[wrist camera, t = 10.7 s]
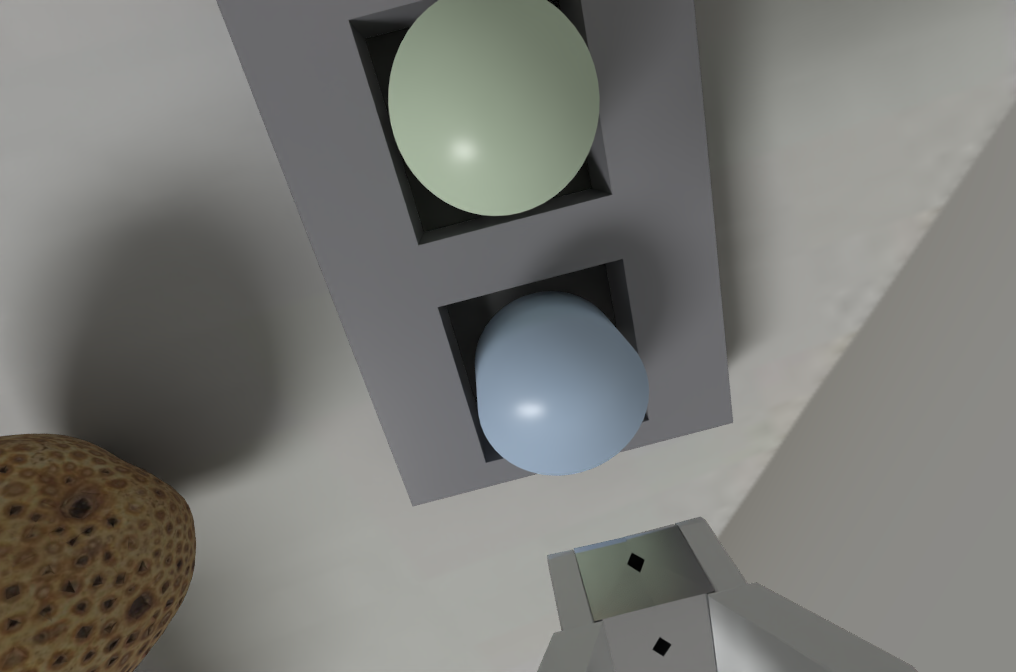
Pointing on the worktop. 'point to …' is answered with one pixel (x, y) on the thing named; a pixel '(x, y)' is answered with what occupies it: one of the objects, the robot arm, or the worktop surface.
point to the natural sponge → (86, 556)
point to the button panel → (496, 221)
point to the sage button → (493, 103)
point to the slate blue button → (558, 384)
